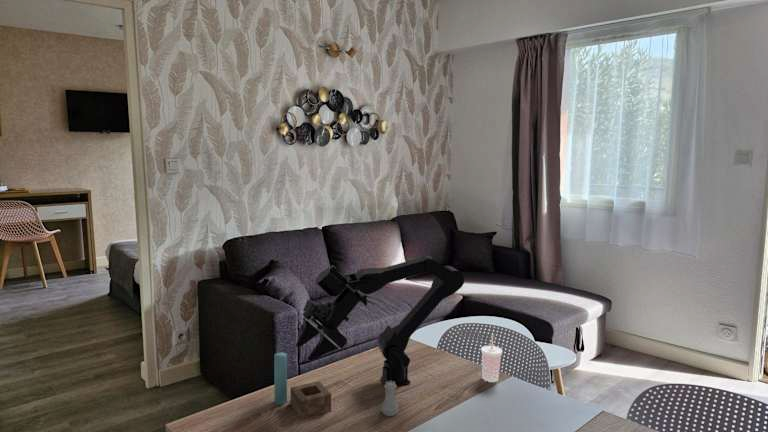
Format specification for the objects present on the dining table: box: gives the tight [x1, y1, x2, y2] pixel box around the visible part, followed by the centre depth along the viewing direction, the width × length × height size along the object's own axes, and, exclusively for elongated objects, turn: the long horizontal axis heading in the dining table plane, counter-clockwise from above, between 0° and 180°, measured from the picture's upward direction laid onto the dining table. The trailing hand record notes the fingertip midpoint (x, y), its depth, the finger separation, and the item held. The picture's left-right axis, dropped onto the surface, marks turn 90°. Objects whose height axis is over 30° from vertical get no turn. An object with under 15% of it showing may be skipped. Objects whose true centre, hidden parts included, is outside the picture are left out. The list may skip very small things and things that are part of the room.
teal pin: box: [273, 351, 288, 406], centre depth 132 cm, size 3×3×13 cm
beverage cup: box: [480, 332, 503, 383], centre depth 148 cm, size 6×6×14 cm
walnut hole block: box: [290, 380, 332, 419], centre depth 130 cm, size 8×8×4 cm
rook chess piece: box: [380, 381, 399, 417], centre depth 129 cm, size 4×4×8 cm
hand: (302, 352), depth 134 cm, fingers open, 9 cm apart
